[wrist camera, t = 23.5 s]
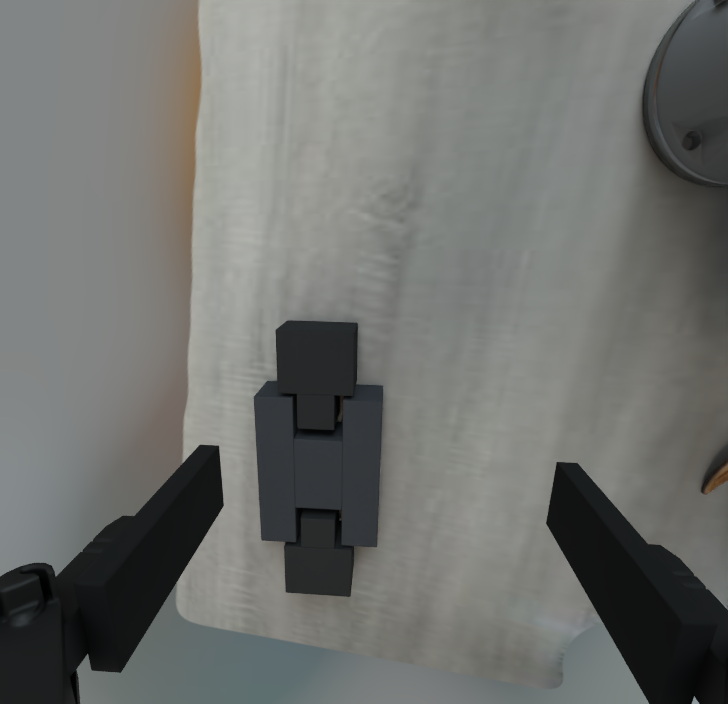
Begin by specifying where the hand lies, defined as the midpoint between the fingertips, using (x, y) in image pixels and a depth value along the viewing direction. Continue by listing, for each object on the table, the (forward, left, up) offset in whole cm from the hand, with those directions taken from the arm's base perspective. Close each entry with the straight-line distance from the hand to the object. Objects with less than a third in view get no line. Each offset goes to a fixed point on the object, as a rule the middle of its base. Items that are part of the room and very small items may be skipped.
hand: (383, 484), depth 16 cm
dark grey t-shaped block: (+6, +3, -25) cm, 26 cm away
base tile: (+6, +13, -25) cm, 29 cm away
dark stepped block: (+6, +23, -25) cm, 34 cm away
